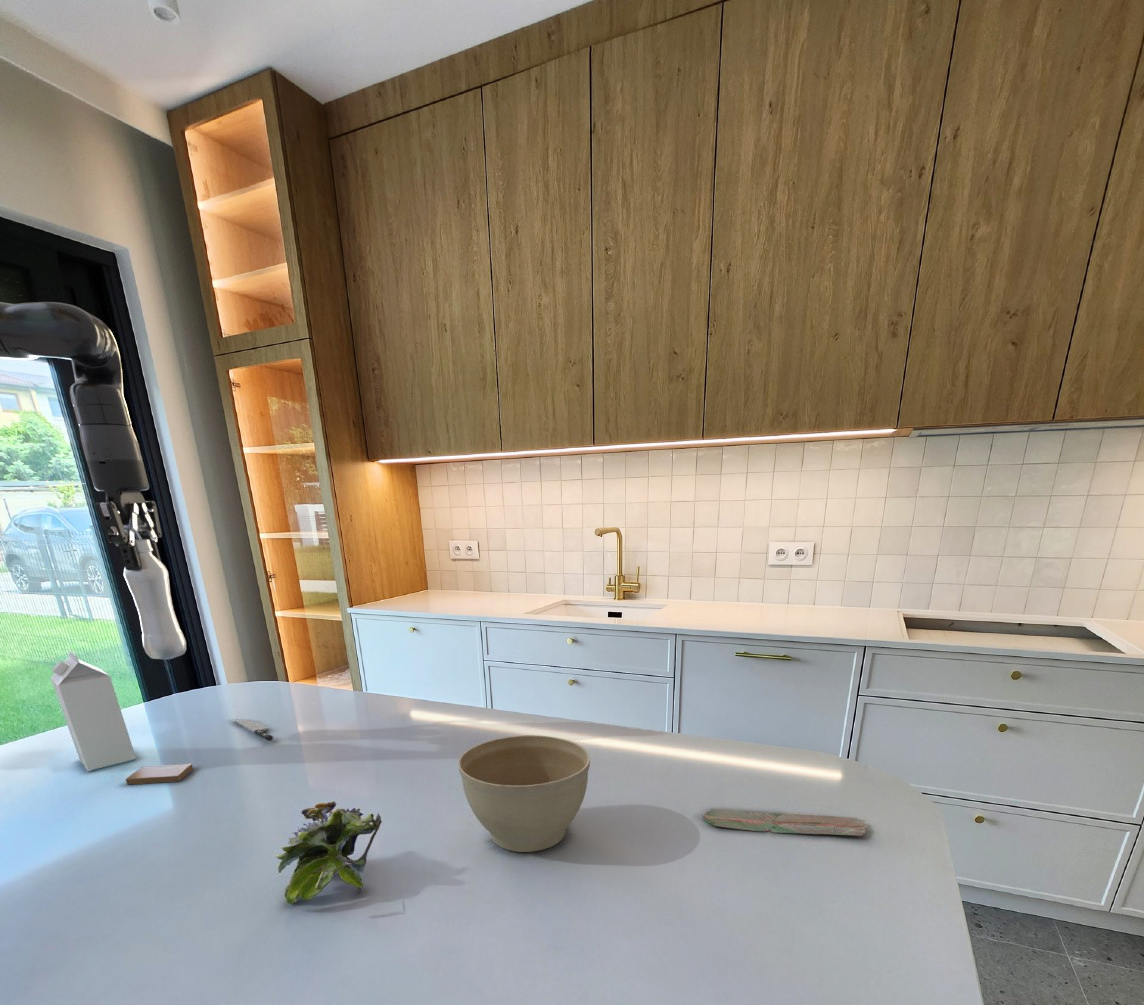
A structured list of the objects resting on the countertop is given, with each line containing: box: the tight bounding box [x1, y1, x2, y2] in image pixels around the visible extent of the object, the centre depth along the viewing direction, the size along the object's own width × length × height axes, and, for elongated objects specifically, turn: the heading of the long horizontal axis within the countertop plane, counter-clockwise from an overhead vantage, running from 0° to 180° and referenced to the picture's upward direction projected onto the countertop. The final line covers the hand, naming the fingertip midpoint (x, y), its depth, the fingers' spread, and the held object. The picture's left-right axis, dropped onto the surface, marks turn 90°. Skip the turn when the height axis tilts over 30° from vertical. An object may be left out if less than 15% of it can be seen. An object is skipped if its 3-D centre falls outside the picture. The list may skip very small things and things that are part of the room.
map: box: [700, 808, 868, 837], centre depth 84 cm, size 5×20×1 cm, turn 77°
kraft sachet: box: [125, 763, 194, 786], centre depth 105 cm, size 8×5×1 cm, turn 95°
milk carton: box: [50, 649, 137, 772], centre depth 109 cm, size 7×7×19 cm
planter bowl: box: [457, 734, 591, 853], centre depth 82 cm, size 16×16×11 cm
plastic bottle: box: [123, 539, 187, 660], centre depth 112 cm, size 6×7×20 cm
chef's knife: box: [232, 719, 274, 742], centre depth 125 cm, size 19×1×3 cm
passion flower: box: [275, 801, 382, 905], centre depth 74 cm, size 11×11×12 cm
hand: (144, 567), depth 110 cm, fingers closed on plastic bottle, 6 cm apart
